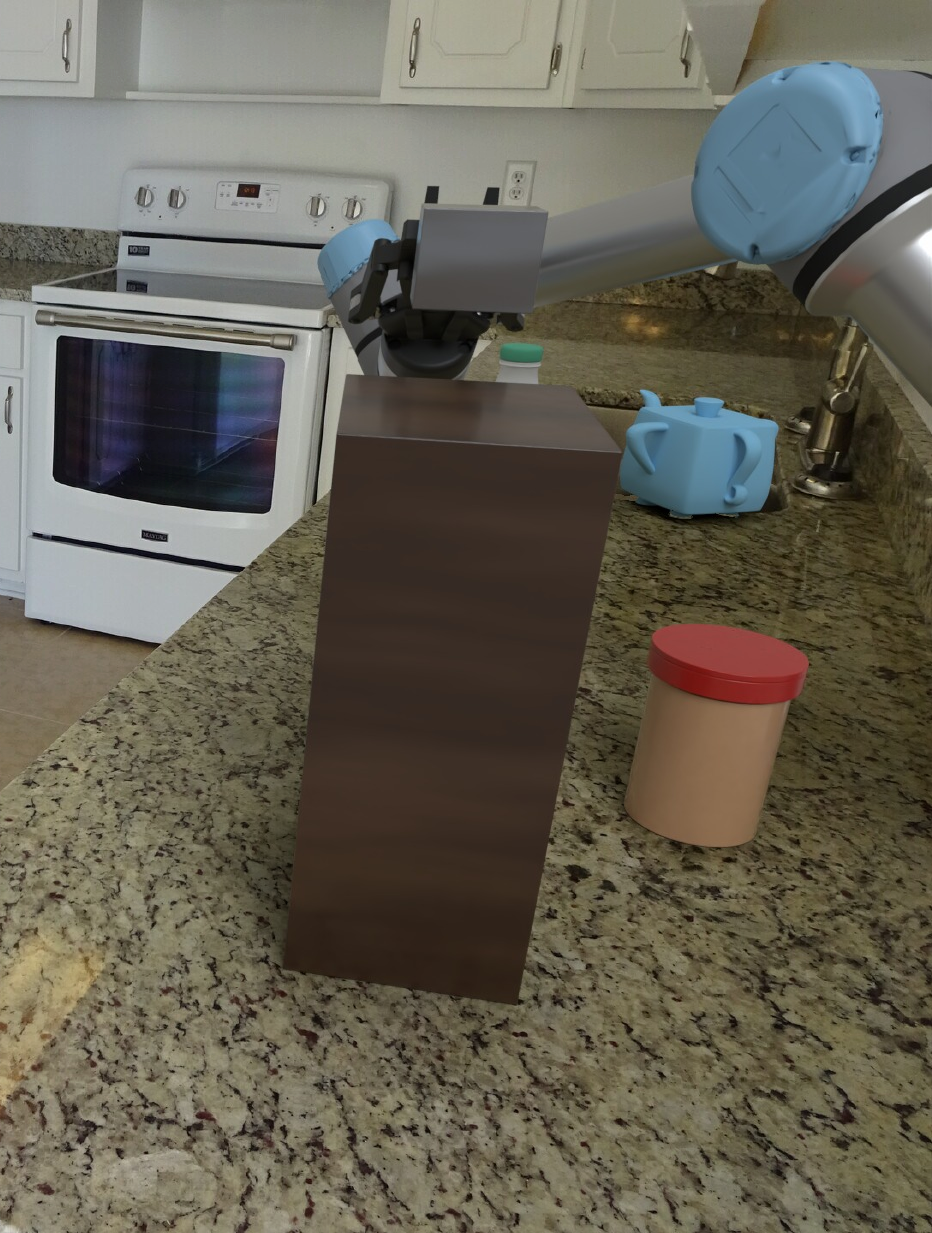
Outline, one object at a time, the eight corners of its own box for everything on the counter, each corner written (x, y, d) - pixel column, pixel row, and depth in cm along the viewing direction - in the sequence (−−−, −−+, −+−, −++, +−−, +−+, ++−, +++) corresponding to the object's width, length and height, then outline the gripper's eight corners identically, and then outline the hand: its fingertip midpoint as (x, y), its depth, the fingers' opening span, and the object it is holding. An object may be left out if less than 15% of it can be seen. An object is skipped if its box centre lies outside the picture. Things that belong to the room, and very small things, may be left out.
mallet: (532, 314, 64) (548, 211, 62) (412, 309, 65) (424, 208, 63) (488, 263, 90) (499, 189, 88) (402, 260, 91) (411, 187, 89)
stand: (517, 1005, 64) (623, 451, 53) (282, 969, 67) (336, 433, 56) (492, 847, 79) (572, 385, 67) (300, 822, 81) (346, 373, 70)
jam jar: (751, 801, 85) (792, 644, 80) (761, 858, 78) (806, 690, 73) (624, 777, 88) (656, 625, 83) (622, 830, 81) (657, 668, 76)
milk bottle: (531, 527, 144) (559, 352, 137) (461, 520, 147) (486, 348, 139) (530, 510, 151) (557, 342, 143) (464, 504, 153) (487, 338, 146)
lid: (795, 662, 81) (802, 636, 80) (811, 715, 73) (818, 687, 73) (646, 640, 84) (651, 615, 83) (646, 688, 77) (652, 661, 76)
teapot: (776, 507, 154) (803, 398, 149) (745, 536, 142) (772, 418, 137) (623, 482, 164) (643, 379, 159) (582, 507, 153) (602, 397, 148)
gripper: (525, 394, 101) (589, 266, 78) (323, 383, 104) (328, 257, 82) (533, 306, 102) (598, 154, 79) (332, 297, 105) (339, 149, 82)
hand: (461, 206), depth 80 cm, fingers closed on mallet, 3 cm apart
